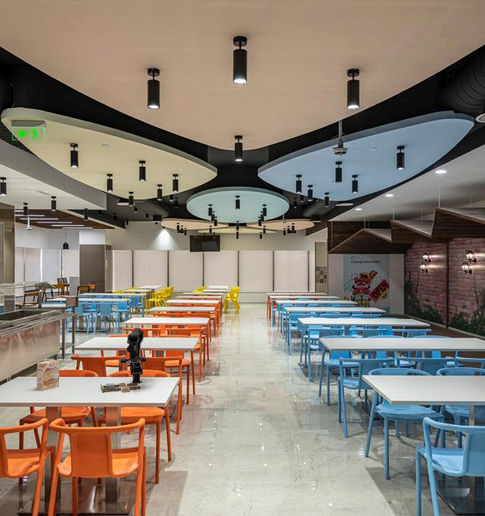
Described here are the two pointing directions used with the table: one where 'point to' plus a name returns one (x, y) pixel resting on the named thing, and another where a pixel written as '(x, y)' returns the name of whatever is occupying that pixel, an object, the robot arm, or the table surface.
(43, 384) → the coffeecake box
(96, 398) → the table surface
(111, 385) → the slate block
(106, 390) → the finger box
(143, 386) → the table surface
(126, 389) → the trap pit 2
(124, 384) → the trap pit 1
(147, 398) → the table surface
